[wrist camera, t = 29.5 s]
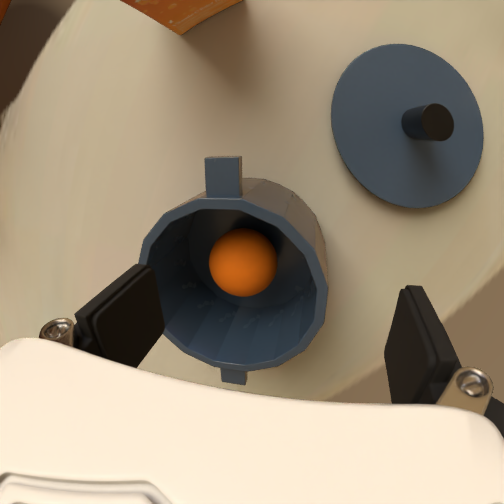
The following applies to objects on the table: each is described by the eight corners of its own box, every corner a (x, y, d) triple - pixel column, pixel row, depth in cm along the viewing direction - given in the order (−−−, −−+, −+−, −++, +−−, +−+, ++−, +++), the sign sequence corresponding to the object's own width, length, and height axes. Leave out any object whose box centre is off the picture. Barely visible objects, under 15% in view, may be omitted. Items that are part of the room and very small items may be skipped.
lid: (475, 66, 19) (508, 55, 13) (471, 213, 25) (502, 233, 19) (327, 38, 22) (331, 12, 16) (328, 198, 28) (332, 216, 22)
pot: (329, 152, 26) (337, 160, 17) (315, 334, 34) (311, 397, 25) (177, 153, 29) (122, 164, 20) (193, 321, 37) (160, 374, 28)
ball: (283, 222, 29) (270, 244, 23) (281, 281, 31) (269, 313, 26) (221, 218, 30) (195, 238, 25) (223, 275, 33) (201, 304, 27)
